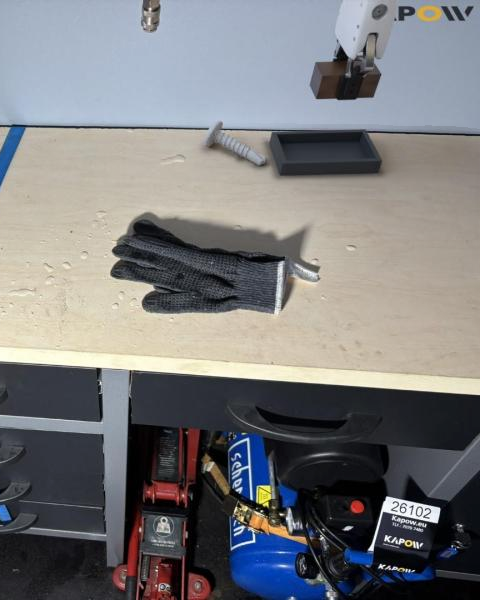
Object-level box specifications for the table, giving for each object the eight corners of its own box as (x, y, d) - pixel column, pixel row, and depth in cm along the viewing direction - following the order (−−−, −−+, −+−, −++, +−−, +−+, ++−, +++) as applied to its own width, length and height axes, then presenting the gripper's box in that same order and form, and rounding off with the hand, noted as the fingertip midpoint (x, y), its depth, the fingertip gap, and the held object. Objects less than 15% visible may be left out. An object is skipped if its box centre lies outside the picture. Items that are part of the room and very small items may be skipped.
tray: (361, 141, 110) (365, 129, 108) (377, 173, 103) (382, 160, 101) (269, 143, 110) (271, 131, 109) (279, 175, 104) (282, 163, 102)
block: (365, 83, 99) (372, 60, 96) (373, 97, 96) (381, 74, 93) (309, 85, 99) (315, 61, 96) (315, 99, 96) (322, 75, 93)
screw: (203, 147, 112) (218, 123, 111) (257, 178, 109) (273, 154, 108) (199, 139, 107) (215, 114, 107) (256, 171, 104) (273, 146, 103)
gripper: (428, -8, 78) (381, 118, 91) (386, -54, 89) (350, 64, 103) (369, -6, 78) (331, 119, 92) (334, -52, 89) (305, 65, 103)
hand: (341, 89), depth 97 cm, fingers closed on block, 4 cm apart
